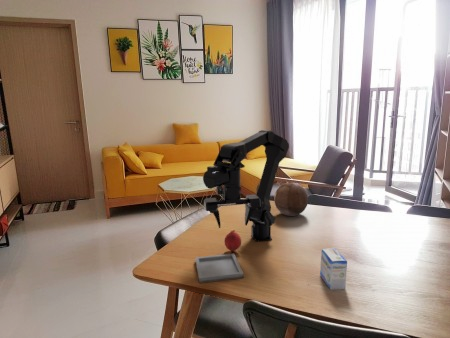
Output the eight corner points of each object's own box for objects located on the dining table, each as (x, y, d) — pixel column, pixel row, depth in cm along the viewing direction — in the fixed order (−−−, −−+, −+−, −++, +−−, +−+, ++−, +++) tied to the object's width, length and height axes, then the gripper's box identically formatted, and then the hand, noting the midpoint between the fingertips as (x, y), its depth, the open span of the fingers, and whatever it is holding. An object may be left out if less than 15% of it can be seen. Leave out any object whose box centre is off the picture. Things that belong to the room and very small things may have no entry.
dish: (234, 257, 108) (234, 253, 108) (243, 277, 96) (243, 273, 96) (195, 261, 106) (195, 257, 106) (199, 282, 94) (199, 278, 93)
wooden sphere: (310, 211, 151) (311, 180, 148) (303, 222, 138) (304, 188, 134) (279, 208, 157) (279, 178, 154) (269, 218, 144) (270, 185, 141)
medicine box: (319, 275, 96) (320, 248, 95) (334, 274, 97) (335, 247, 95) (330, 290, 89) (331, 261, 87) (345, 289, 89) (347, 260, 87)
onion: (239, 255, 109) (239, 233, 108) (223, 254, 111) (222, 232, 109) (242, 248, 115) (242, 227, 113) (226, 247, 116) (226, 226, 115)
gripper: (252, 175, 117) (252, 216, 120) (201, 178, 114) (203, 220, 117) (261, 182, 106) (261, 227, 110) (205, 186, 103) (206, 232, 106)
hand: (232, 226), depth 111 cm, fingers open, 9 cm apart
